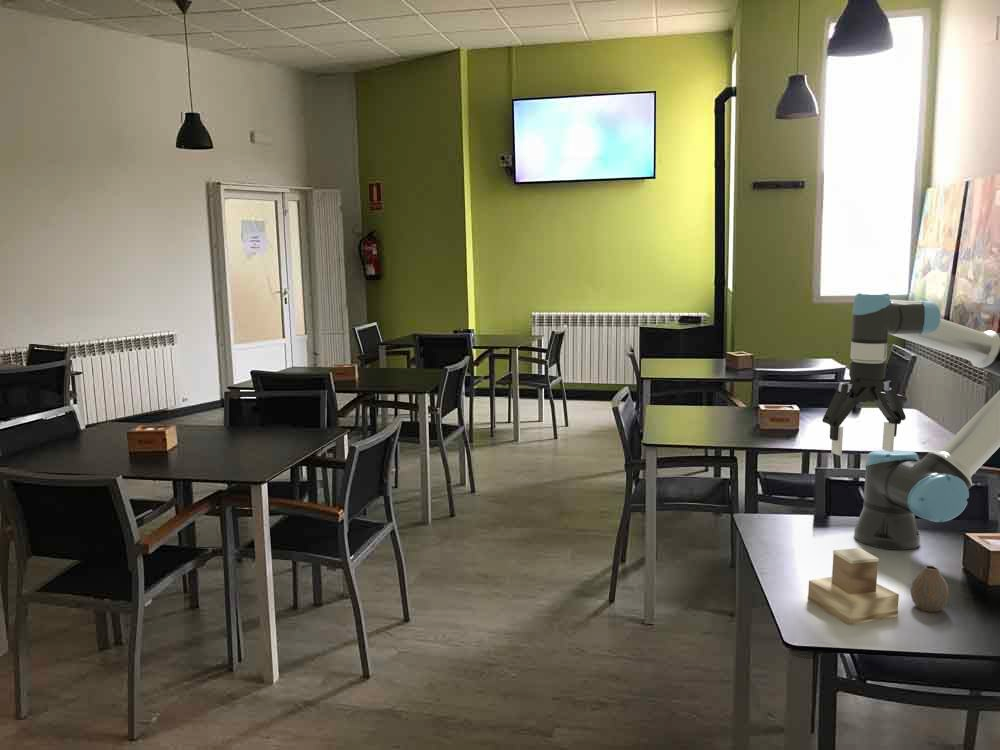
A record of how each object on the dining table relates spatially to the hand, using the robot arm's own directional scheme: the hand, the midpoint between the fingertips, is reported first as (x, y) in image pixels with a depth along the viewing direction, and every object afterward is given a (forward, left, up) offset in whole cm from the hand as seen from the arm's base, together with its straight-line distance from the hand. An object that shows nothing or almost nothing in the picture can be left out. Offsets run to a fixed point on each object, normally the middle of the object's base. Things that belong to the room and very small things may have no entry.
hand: (862, 452), depth 192 cm
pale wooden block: (+17, +22, -22) cm, 36 cm away
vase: (+2, +25, -27) cm, 37 cm away
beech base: (+17, +22, -27) cm, 39 cm away
